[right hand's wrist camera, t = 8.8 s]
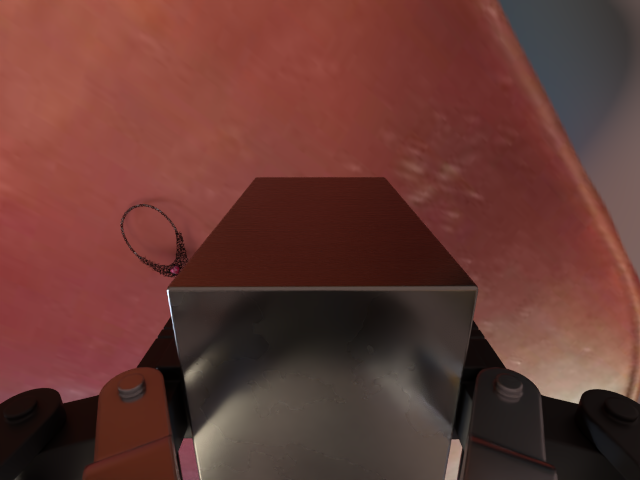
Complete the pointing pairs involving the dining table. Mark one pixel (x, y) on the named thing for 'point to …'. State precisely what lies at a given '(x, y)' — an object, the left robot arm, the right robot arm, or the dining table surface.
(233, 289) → the box
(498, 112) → the dining table surface
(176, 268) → the necklace
